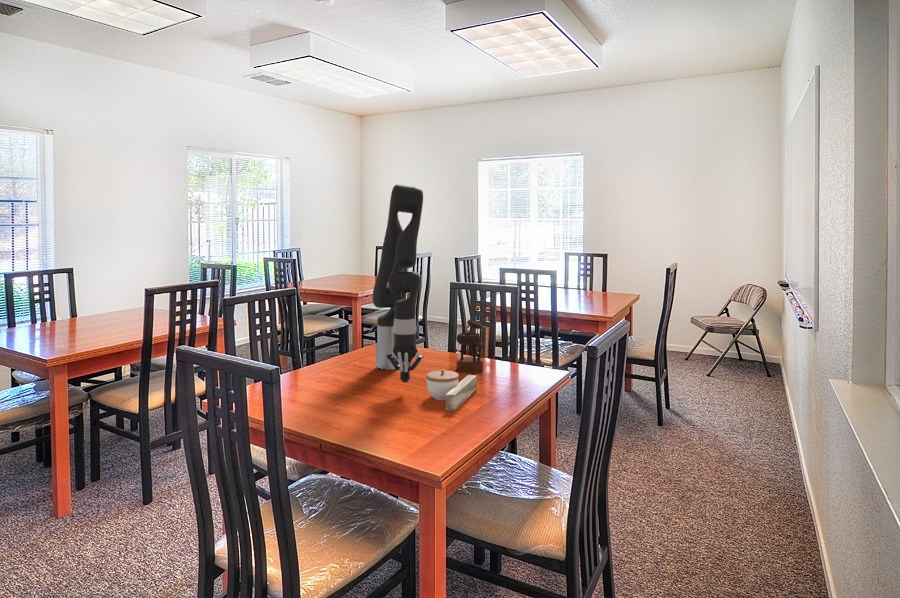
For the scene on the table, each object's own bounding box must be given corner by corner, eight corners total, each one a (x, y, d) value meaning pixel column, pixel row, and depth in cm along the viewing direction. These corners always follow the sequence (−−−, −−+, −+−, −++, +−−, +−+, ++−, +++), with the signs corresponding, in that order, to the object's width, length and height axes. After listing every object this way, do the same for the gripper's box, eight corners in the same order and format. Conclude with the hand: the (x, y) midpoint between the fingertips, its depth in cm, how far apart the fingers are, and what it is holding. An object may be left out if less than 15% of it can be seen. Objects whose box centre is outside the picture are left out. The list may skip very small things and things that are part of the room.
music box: (487, 365, 232) (487, 317, 228) (487, 375, 221) (487, 324, 217) (449, 364, 233) (449, 316, 229) (447, 374, 222) (447, 324, 218)
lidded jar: (425, 392, 195) (425, 365, 194) (457, 392, 196) (457, 365, 195) (426, 402, 185) (426, 374, 183) (460, 402, 185) (460, 373, 184)
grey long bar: (445, 410, 177) (445, 394, 177) (468, 388, 200) (468, 374, 199) (455, 411, 176) (455, 395, 176) (476, 389, 199) (476, 375, 198)
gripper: (382, 332, 190) (382, 383, 193) (419, 334, 186) (419, 386, 189) (391, 328, 197) (391, 377, 200) (427, 330, 193) (427, 380, 196)
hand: (405, 381), depth 194 cm, fingers closed
